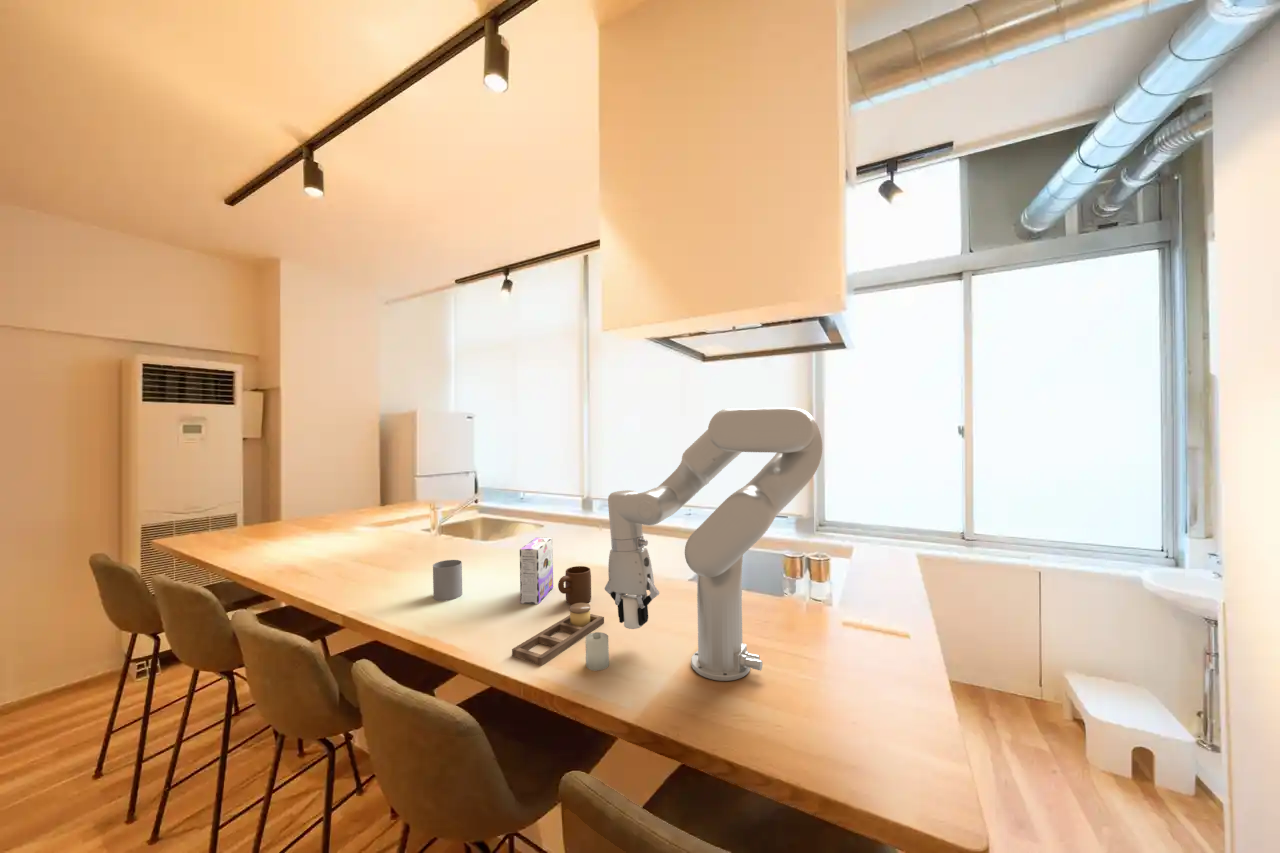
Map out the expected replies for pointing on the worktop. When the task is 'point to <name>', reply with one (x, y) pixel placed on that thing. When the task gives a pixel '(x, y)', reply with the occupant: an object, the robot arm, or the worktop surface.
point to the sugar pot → (597, 651)
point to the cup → (447, 580)
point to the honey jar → (580, 614)
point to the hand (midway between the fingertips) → (633, 621)
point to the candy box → (536, 570)
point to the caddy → (555, 639)
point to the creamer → (630, 611)
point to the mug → (576, 585)
